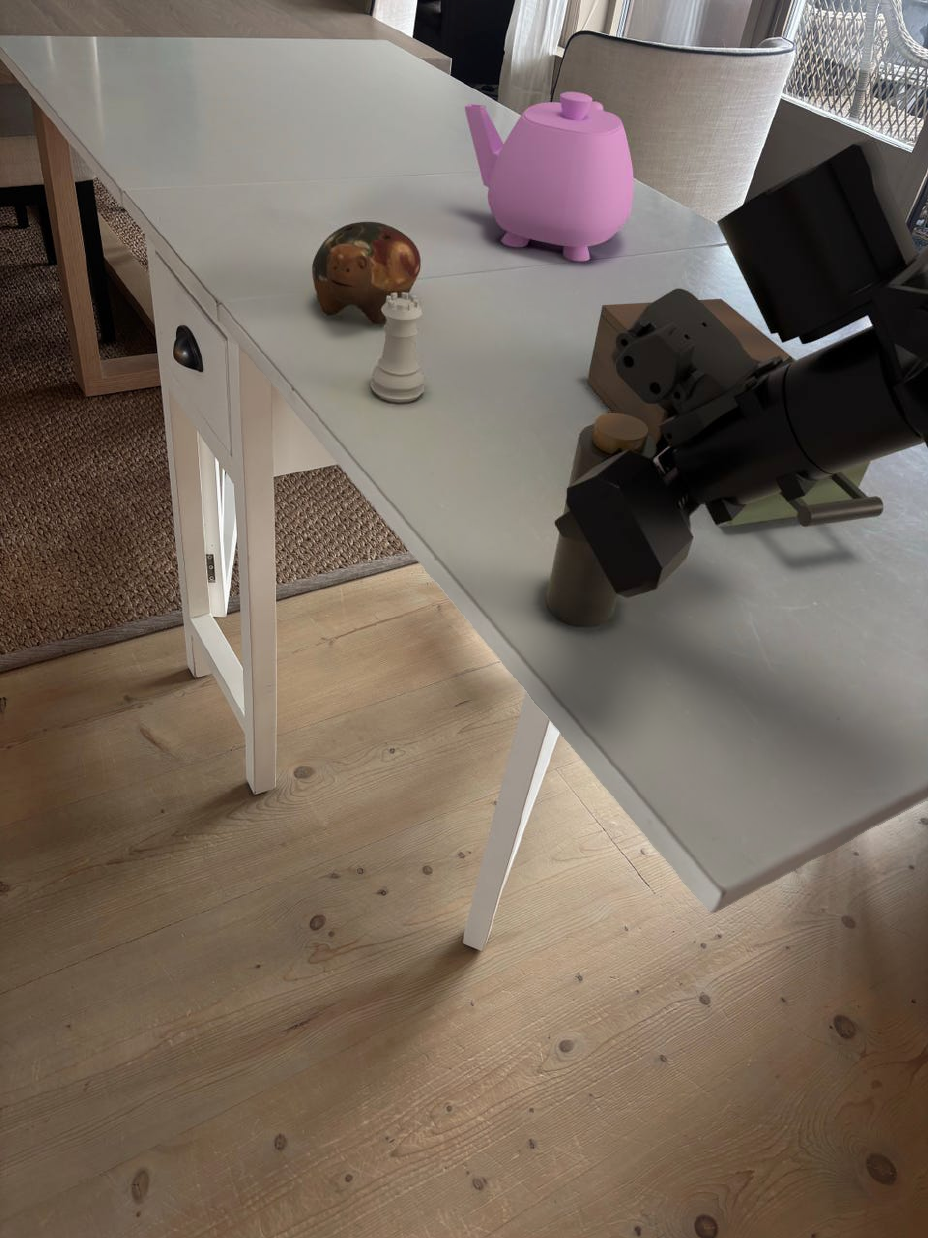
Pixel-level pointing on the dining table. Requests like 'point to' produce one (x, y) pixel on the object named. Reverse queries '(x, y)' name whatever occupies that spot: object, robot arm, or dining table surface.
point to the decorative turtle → (364, 268)
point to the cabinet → (621, 394)
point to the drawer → (818, 502)
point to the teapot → (556, 173)
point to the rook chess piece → (399, 352)
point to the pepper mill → (576, 571)
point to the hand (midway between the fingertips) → (579, 511)
